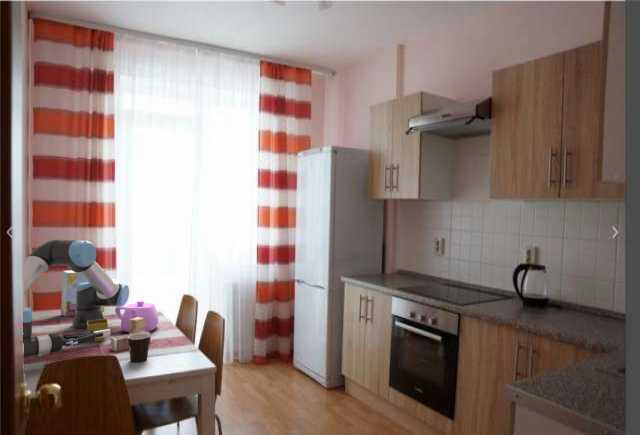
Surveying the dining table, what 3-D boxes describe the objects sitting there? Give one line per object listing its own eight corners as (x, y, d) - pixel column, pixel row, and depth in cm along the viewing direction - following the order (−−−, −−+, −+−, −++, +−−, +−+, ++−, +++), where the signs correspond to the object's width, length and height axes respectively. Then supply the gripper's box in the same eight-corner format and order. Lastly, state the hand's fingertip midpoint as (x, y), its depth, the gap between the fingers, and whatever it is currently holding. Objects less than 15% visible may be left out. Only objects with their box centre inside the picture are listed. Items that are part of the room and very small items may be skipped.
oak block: (128, 339, 204) (129, 319, 204) (137, 337, 208) (137, 317, 208) (136, 341, 202) (136, 320, 201) (144, 338, 206) (145, 318, 206)
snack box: (66, 317, 240) (67, 272, 240) (60, 315, 246) (61, 270, 246) (105, 311, 257) (106, 269, 257) (98, 309, 263) (99, 267, 262)
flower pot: (86, 344, 196) (86, 324, 196) (87, 338, 204) (87, 320, 204) (107, 341, 200) (108, 322, 200) (107, 336, 208) (107, 318, 208)
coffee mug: (131, 356, 181) (132, 333, 181) (152, 356, 182) (153, 333, 182) (121, 366, 170) (121, 341, 170) (143, 366, 170) (144, 341, 170)
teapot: (119, 326, 227) (120, 298, 227) (160, 325, 230) (161, 297, 230) (105, 338, 205) (105, 307, 204) (150, 337, 208) (151, 307, 208)
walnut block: (111, 337, 191) (145, 330, 202) (110, 348, 191) (145, 341, 202) (115, 340, 187) (150, 333, 199) (115, 351, 187) (150, 343, 199)
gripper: (43, 349, 174) (103, 337, 191) (53, 357, 165) (115, 344, 183) (43, 331, 174) (103, 321, 191) (54, 338, 165) (116, 326, 183)
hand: (109, 332), depth 187 cm, fingers closed
